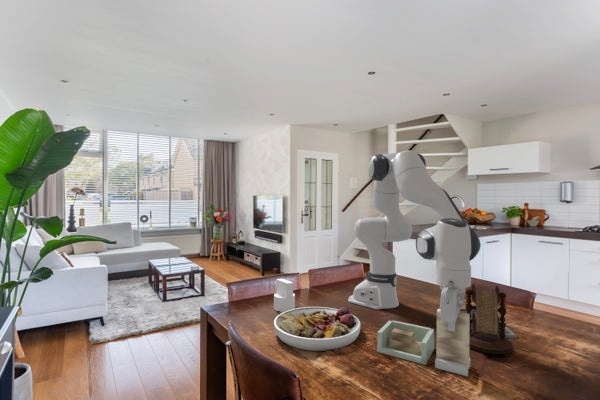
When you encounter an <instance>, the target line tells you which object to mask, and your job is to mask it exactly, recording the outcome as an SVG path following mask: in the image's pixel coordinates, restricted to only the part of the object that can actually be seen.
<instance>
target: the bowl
mask: <svg viewBox="0 0 600 400" xmlns="http://www.w3.org/2000/svg"><path fill="white" fill-rule="evenodd" d="M273 328H274V332H275V334H276V336H277V337H278V339H280V340H281V341H282V342H283V343H285V344H286V345H289V346H290V347H293V348H296V349H299V350H303V351H312V352H319V351H320V352H323V351H324V352H327V351H330V350H334V349H338V348H339V349H340V348H343V347H346V346H348V345H350V344H352V343H353V342H355V340H356V339H357V338H358V337H359V334H360V332H361V321H360V319H359V318H358V317H357V316H355V315H354V314H352V313H351V312H350V309H348V307H346V306H342V307H340V308H339V309H337V308H334V307H333V308H332V307H324V306H306V307H304V306H303V307H298V308H296V307H295V309H292V310H288V311H285V312H280V313H279V314H278V315H277V316H275V318H274V319H273Z"/></svg>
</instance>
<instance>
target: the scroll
mask: <svg viewBox="0 0 600 400" xmlns="http://www.w3.org/2000/svg"><path fill="white" fill-rule="evenodd" d="M465 295H466V296H465V297H466V301H465V308H466V311H467V314H470V326H471V323H472V327H473V330H471V327H470V338H469V350H475V351H479V352H482V353H487V354H493V355H496V354H497V355H503V356H504V357H505V358H507V357H508V355H509V354H510V353H512V352H513V351H514V347H513V346H514V344H513V343H512V341H511V340H509V338H505V336H506V334H505V332H504V330H505V329H504V328H505V327H506V326H507V324H506V318H505V316H506V314H507V308H506V302H505V301H506V299H507V294H506V292H503V291H502V292H500V287H499V286H498V285H495V288H494V290H490V289H489V290H487V289H477V288H476V286H475V284H474V283H471V288H470V289H468V288H467V289H466V292H465ZM472 302H473V303H474V304H475V305H472ZM473 309H474V310H476V318H475V313H474V312H473V313H472V319H471V313H470V312H471V310H473ZM499 315H500V316H499ZM500 321H501V322H500ZM500 327H501V328H500ZM500 330H501V331H500Z"/></svg>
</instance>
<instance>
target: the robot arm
mask: <svg viewBox="0 0 600 400" xmlns="http://www.w3.org/2000/svg"><path fill="white" fill-rule="evenodd" d="M367 170H368V175H369V177H370V179H372V180H373V181H374V183H373V193H372V202H371V203H372V207H373V208H374V209H375V210H376V211H378V212H380V213H382V214H383V215H384V216H383V217H378V216H377V217H376V216H375V217H370V216H369V217H363V218H360V219H359V218H358V219H357V220H356V221H355V224H354V226H353V233H354V235H355V238H357V240H359V241H360V242H361V243H362V244H363V245H364V246H365V248H366V251H367V252H368V256H369V270H368V271H367V272H366V273H365V274H364V275H365V278H366V279H364V280H363V281H361V282H360V283H359V284H357V285H356V286H355V287H354V290H353V294H352V295H350V296H349V297H348V299H347V301H348V303H352V304H355V305H358V306H362V307H365V308H369V309H373V310H382V309H394V308H397V307H399V306H400V304H399V299H398V294H397V288H396V287H397V278H398V277H397V272H396V256H395V254H394V253H393V252H392V251H391V250H389V249H387V248H385V247H383V243H384V242H386V243H388V242H389V243H399V242H404V241H408V240H409V239H410V238H411V236H412V235H413V226H412V224H411V222H410V220H408V219H407V218H405V216H404V215H403V214H402V211H401V209H400V196H402V198H404V200H406V201H408V202H411V203H413V204H417V205H420V206H425V207H427V208H430V209H432V210H434V211H436V212H437V214H439V216H440V217H441V219H439V220H438V221H437V223H436V224H435V225H434V226H431V227H428V228H425V229H424V228H423V229H422V230H421V231H420V232H418V234H417V236H416V237H415V249H416V252H417V253H418V255H419V256H420V257H422V258H423V259H424V260H428V261H436V264H435V283H436V284H437V285H439V286H440V290H441V294H440V303H439V309H440V318H441V320H442V321H447V322H448V330H449V331H455V329H456V324H455V323H456V320H457V317H458V314H459V312H460V309H461V307H463V304H464V301H465V297H466V296H465V295H466V290H467V289H468V288H470V287H472V266H471V262H470V261H472V260H474V259H475V258H476V256H477V255H478V254H479V253H480V250H481V246H482V245H481V244H482V243H481V240H480V237H479V236H478V234H477V233H476V232H475V230H474V229H473V228H472V227H471V226H470V225H469V223H467V221H466V219H465V218H464V216H463V214H462V212H461V211H460V210H459V208H458V207H457V205H456V204H455V201H453V199H452V198H451V196H450V195H449V193H448V192H447V191H446V189H444V188H442V186H441V187H440V185H438V184H437V183H436V182H435V181H434V179H432V177H431V176H430V174H429V171H428V169H427V163H426V159H425V157H424V156H423V155H422V154H420V153H418V152H415V151H414V150H408V149H407V150H402V151H399V152H390V153H384V154H382V153H377V154H374V155H373V156H371V158H369V160H368V166H367Z"/></svg>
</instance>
